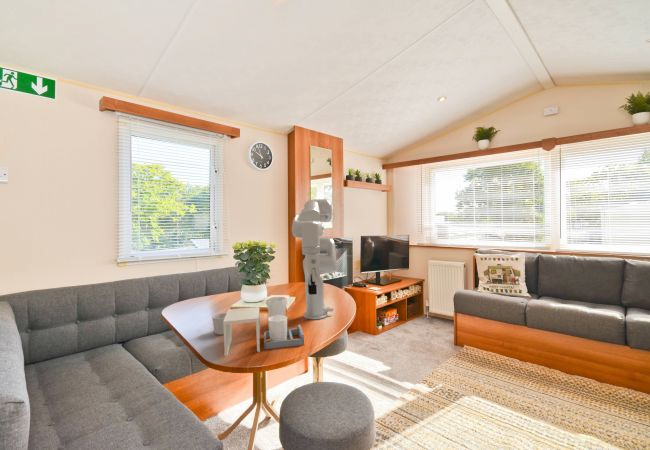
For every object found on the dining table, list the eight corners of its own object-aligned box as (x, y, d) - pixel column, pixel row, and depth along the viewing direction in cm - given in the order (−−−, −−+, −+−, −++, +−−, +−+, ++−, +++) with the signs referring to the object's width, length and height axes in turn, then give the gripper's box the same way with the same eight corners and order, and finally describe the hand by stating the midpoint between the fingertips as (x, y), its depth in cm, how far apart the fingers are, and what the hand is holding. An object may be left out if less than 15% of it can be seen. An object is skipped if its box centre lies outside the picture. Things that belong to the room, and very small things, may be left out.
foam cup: (285, 321, 151) (284, 295, 151) (289, 328, 143) (288, 300, 142) (266, 324, 148) (265, 298, 148) (269, 331, 139) (268, 302, 139)
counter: (260, 336, 133) (259, 306, 133) (259, 352, 117) (258, 318, 117) (229, 339, 130) (228, 309, 130) (224, 356, 115) (223, 321, 115)
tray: (300, 333, 135) (300, 324, 135) (304, 344, 122) (303, 335, 122) (264, 337, 132) (263, 328, 132) (264, 349, 119) (263, 339, 119)
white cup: (284, 346, 122) (283, 321, 122) (265, 345, 124) (264, 321, 123) (290, 338, 130) (289, 315, 129) (273, 337, 131) (272, 314, 131)
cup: (217, 328, 146) (216, 311, 145) (234, 327, 146) (233, 310, 146) (210, 336, 135) (210, 318, 135) (229, 335, 135) (228, 317, 135)
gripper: (323, 251, 122) (324, 297, 122) (316, 248, 137) (318, 289, 137) (304, 252, 120) (306, 299, 121) (300, 249, 136) (301, 290, 136)
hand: (312, 293), depth 129 cm, fingers closed
